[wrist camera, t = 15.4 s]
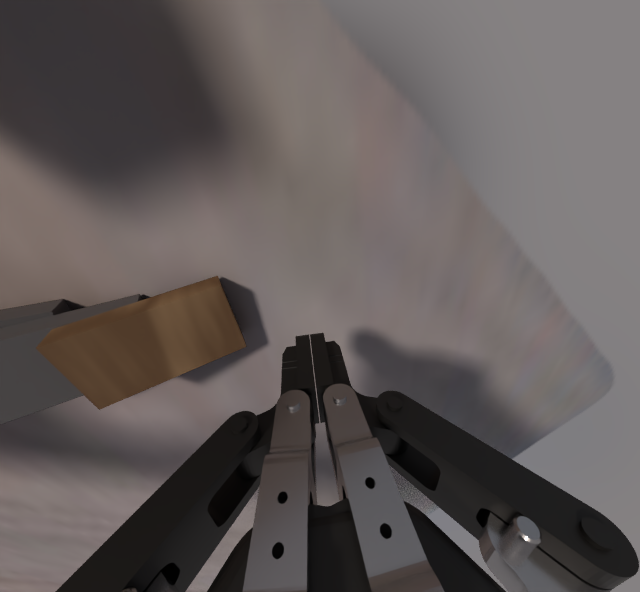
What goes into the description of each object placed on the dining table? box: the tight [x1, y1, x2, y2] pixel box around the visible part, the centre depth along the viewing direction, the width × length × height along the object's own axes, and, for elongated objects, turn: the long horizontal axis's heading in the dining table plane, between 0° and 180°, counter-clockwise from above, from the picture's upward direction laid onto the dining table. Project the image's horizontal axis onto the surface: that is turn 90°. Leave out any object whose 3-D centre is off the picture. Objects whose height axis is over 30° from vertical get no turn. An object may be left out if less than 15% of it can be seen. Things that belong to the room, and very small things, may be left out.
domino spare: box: [36, 276, 247, 410], centre depth 15 cm, size 2×5×9 cm
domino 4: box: [0, 294, 143, 425], centre depth 15 cm, size 2×5×9 cm
